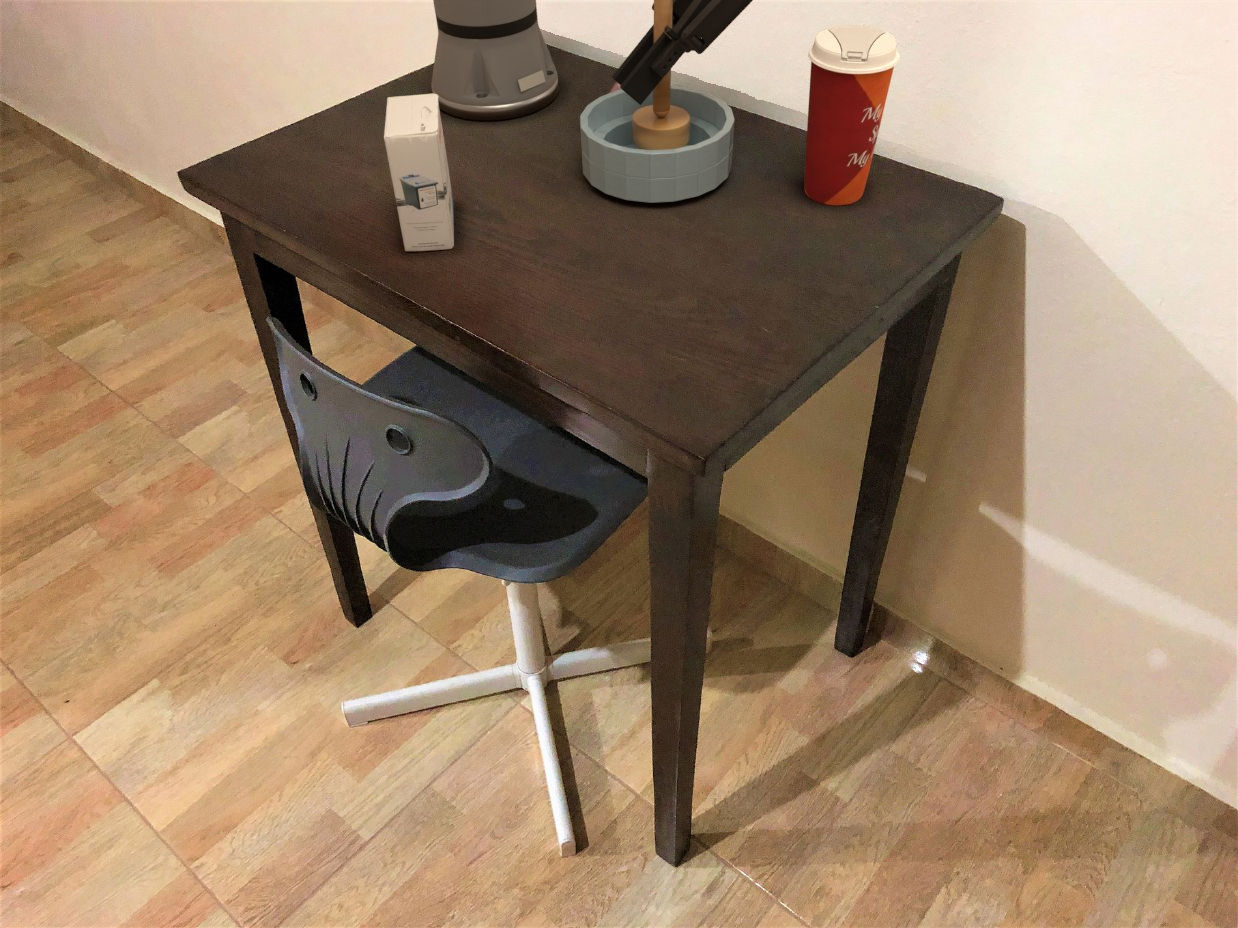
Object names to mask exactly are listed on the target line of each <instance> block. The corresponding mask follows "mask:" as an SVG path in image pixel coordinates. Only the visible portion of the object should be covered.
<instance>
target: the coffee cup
mask: <svg viewBox="0 0 1238 928" xmlns="http://www.w3.org/2000/svg"><path fill="white" fill-rule="evenodd" d="M807 56H808V57H807V58H808V59H809V60H810V73H809V74H810V76H809V77H810V78H809V93H808V110H807V123H806V125H807V126H806V141H805V142H806V143H805V158H804V159H805V160H804V180H803V181H804V183H803V184H804V185H803V186H804V189H803V190H804V193H805V195H806V196H807V197H808V198H809V199H811V200H812V201H813V202H816V203H819V204H822V205H827V206H828V205H829V206H845V205H846V206H847V205H851V204H854V203H856V202H857V201H859V200H860V199H861V198H862V197H863V195H864V192H865V188H866V185H867V182H868V177H869V173H870V169H871V165H872V160H873V157H874V153H875V148H876V144H877V140H878V137H879V136H878V135H879V133H880V132H879V131H880V127H881V123H882V119H883V116H884V110H885V107H886V103H887V98H888V94H889V89H890V85H891V80H892V77H893V73H894V68H895V67H896V66H897V64H899V62H900V53H899V51H898V43H897V39H896V37H895V36H893V35H892V34H891V33H890V32H888V31H885V30H882V29H879V28H876V27H873V26H872V27H871V26H866V25H840V26H834V27H829V28H825V29H824V30H822V31H820V32H819V33H818V34H817V35H816V36H815V38H814V41H813V44H812V45H811V47H809V50H808V52H807Z"/></svg>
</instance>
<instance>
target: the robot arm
mask: <svg viewBox="0 0 1238 928" xmlns="http://www.w3.org/2000/svg"><path fill="white" fill-rule="evenodd" d="M432 1H433V7H434V14H435V20H436V26H437V39H436V40H437V41H436V47H435V54H434V61H433V67H432V68H433V70H432V76H431V91H432V94H437V95H438V104H439V110H441V111H442V112H444V113H446V114H448V115H451V116H454V117H457V118H461V119H465V120H466V119H467V120H474V121H498V120H507V119H514V118H519V117H523V116H526V115H529V114H532V113H534V112H538V111H539V110H541V109H543V108H545V107H546V106H548V105H550V104H551V103H552V102H553V101H554V100H555V99H556V98H557V96H558V95H559V89H560V88H559V77H558V71H557V68H556V65H555V63H554V60H553V58H552V56H551V53H550V51H549V48H548V46H547V43H546V41H545V39H544V36H543V33H542V31H541V28H540V25H539V18H538V9H537V0H432ZM753 1H754V0H673V14H672V28H670V27H669V26H667V25H666V27H665V29H664V31H665V33H666V34H667V35H668V36H667V35H666V34H665V33H664V32H663V33H662V34H661V36H660V37H659V38H658V39H657V41H656V42H655V43H654V44H653V39H654V23H653V24H652V25H651V27H650V28H649V29H648V30H647V31H646V33H645V34H644V36H643V37H642V38H641V39H640V40H639V42H638V43H637V44H636V46H635V47H634V48H633V49H632V51H631V52H630V53H629V54H628V56H627V57H626V58H625V59H624V61H623V62H622V63H621V65H619V67H618V68H617V69H616V70H615V72H614V73H613V74H612V76H611V78H612V79H613V80H614V81H615V83H616V82H617V83H618V84H620V85H621V86H620V88H621V89H622V90H623V91H624V92H625V93H627V94H628V95H629V96H630V97H631V98H633V99H634V100H635V101H636V102H637V103H638V104H640V105H641V104H642V103H643V102H644V101H645V99H646V98H647V97H648V96H649V94H650V93H651V92H652V91H653V90H654V88H655V87H656V86H657V85H658V83H659V82H660V81H661V80H662V79H663V77H664V76H665V75H666V74H667V73H668V72H669V71H670V69H671V70H672V69H673V67H674V66H675V65H676V63H678V61H679V60H680V59H681V58H682V56H683V55H684V54H685V53H687V54H689V53H691V52H695V53H696V54H697V55H701V54H703V53H704V52H705V51H706V50H707V49H708V48H709V47H710V46H711V45H712V44H713V43H714V42H715V41H716V40H717V38H719V36H720V35H722V33H723V32H724V31H725V30H726V29H727V28H728V27H729V26H730V25H731V24H732V23H733V22H734V21H735V20H736V19H737V18H738V17H739V16H740V15H741V14H742V12H743V11H744V10H746V8H747V7H748V6H749V5H750V4H751V3H752V2H753ZM651 10H653V11H654V2H653V3H652V5H651ZM670 37H671V38H670Z"/></svg>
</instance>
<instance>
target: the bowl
mask: <svg viewBox="0 0 1238 928" xmlns="http://www.w3.org/2000/svg"><path fill="white" fill-rule="evenodd" d="M650 105H653V91H652V92H651V93H650V94H649V96H648V97H647V98H646V99H645V101H644V102H643V103H642V104H641V105H640V104H638V103H637V102H636V101H635V100H634V99H633V98H631V97H630V96H629V95H628V94H627V93H625V92H624V91H623V90H622V89H621V90H617V91H614V92H612V93H610V92H608V93H606V94H603V95H601V96H599V97H598V98H596V99H595V100H593V101H591V102H590V103H588V104H587V105H586V106H585V108H584V110H583V111H582V112H581V114H580V116H579V127H580V144H581V145H580V146H581V147H580V148H581V159H582V160H581V161H582V174H583V176H584V177H585V179H586V180H587V181H588V182H589V184H590V185H591V186H592V187H594V188H596V189H597V190H599V191H600V192H602V193H604V195H608V196H612V197H615V198H618V199H621V200H625V201H631V202H640V203H641V202H642V203H648V204H650V203H651V204H653V203H674V202H678V201H684V200H687V199H691V198H696V197H700V196H702V195H704V194H707V193H708V192H710V191H713V190H716V189H717V188H718V187H719V186H720V185H721V184H722V183H723V182H725V181H726V180H727V179H728V177H729V175H730V172H731V169H732V165H733V151H734V150H733V149H734V137H735V135H734V134H735V120H736V119H735V116H734V113H733V110H732V108H731V106H730V105H728V104H727V103H726V102H725V101H724V100H723V99H721V98H720V97H717V96H715V95H713V94H711V93H709V92H706V91H704V90H699V89H695V88H692V87H688V86H683V85H682V86H681V85H671V95H670V105H673V106H677V107H680V108H682V109H684V110H686V111H687V112H688V113H689V115H690V134H689V141H688V143H687V144H686V145H685V146H683V147H681V148H676V149H667V150H645V149H643V148H640V147H638V146H637V145H636V144H635V143H634V142H633V127H632V117H633V114H634V113H635V112H636V111H637V110H638V109H640V108H643V107H646V106H650Z"/></svg>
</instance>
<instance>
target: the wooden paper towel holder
mask: <svg viewBox="0 0 1238 928" xmlns="http://www.w3.org/2000/svg"><path fill="white" fill-rule="evenodd" d="M653 3H654V10H653V24H654V39H653V44H654V43H655V42H656V41H657V39H658V38H659V37H660V36H661V34H662V33H663V32H664V33H665V31H664V29H665V27H666V25H667V26H669V27H670V28H672V14H673V0H653ZM665 34H666V33H665ZM666 35H667V34H666ZM667 36H668V35H667ZM670 38H671V37H670ZM671 86H672V68H671V69H670V71H669V72H668V73H667V74H666V75H665V76H664V77H663V79H662V80H661V81H660V82H659V83H658V85H657V86H656V87H655V88H654V90H653V105H650V106H646V107H643V108H640V109H638V110H637V111H636V112H635V113H634V114H633V117H632V127H633V142H634V143H635V144H636V145H637V146H638V147H640V148H643V149H645V150H667V149H676V148H681V147H683V146H685V145H686V144H687V143H688V141H689V134H690V115H689V113H688V112H687V111H686V110H684V109H682V108H680V107H677V106H673V105H670V95H671Z"/></svg>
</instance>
